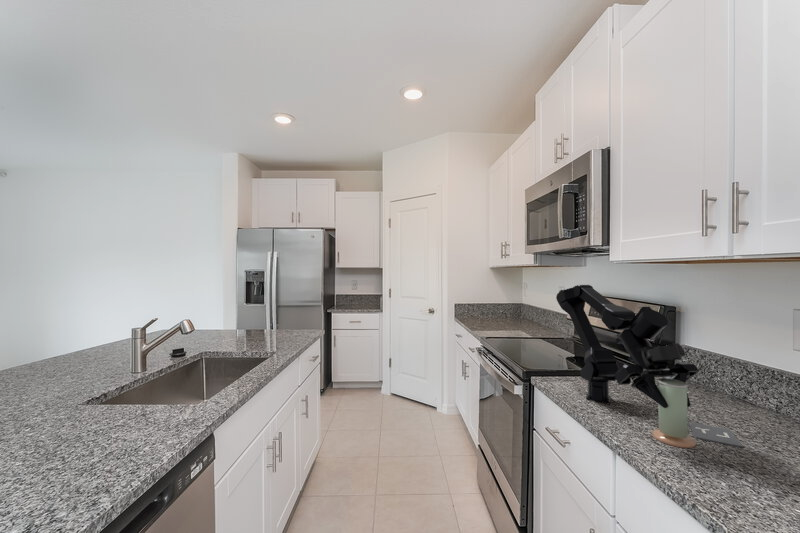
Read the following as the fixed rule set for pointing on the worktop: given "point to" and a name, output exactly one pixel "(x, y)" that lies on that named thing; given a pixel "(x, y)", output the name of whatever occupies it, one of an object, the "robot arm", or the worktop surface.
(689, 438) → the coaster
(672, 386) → the green tumbler
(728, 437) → the tile
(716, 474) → the worktop surface
